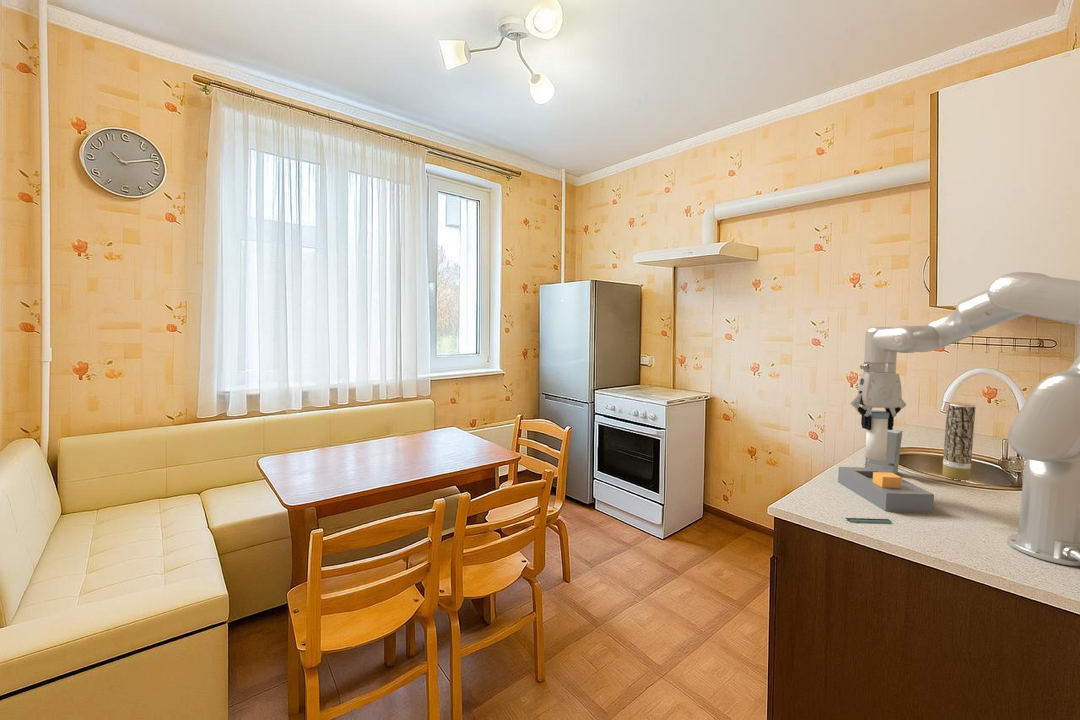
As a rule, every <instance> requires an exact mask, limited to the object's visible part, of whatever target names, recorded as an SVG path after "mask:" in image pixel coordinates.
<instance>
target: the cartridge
mask: <svg viewBox="0 0 1080 720" xmlns="http://www.w3.org/2000/svg"><path fill="white" fill-rule="evenodd" d="M869 416H870V417H871V429H870V430H867V429H865V430H866V433H865V459H866V458H869V459H873V460H886V454H887V432H888V418H889V412H886V411H885V410H879V409H878V410H876V409H875V410H873V409H872V410H871V413H870V415H869Z"/></svg>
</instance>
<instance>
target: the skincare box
mask: <svg viewBox="0 0 1080 720" xmlns="http://www.w3.org/2000/svg"><path fill="white" fill-rule="evenodd" d="M902 437H903V431H902V430H900V429H899V430H898V429H893V430H888V432H887V454H886V460H873V459H869V458H866V457H865V462H864V467H868V468H880V469H882V470H884V471H886V472H889V473H894V474H896V475H897V474H898V472H899V465H900V464H899V463H900V457H901V456H900V455H901V445H902V440H903V439H902Z"/></svg>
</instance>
